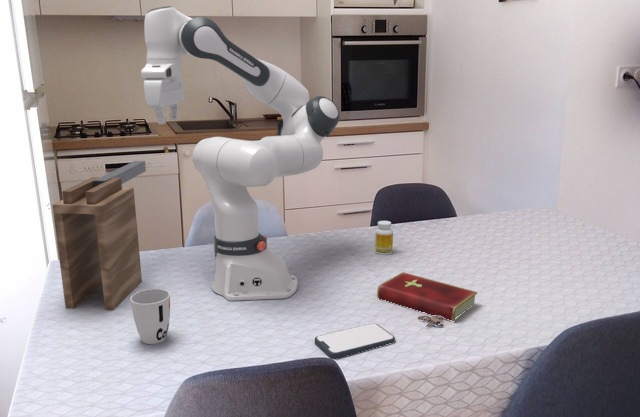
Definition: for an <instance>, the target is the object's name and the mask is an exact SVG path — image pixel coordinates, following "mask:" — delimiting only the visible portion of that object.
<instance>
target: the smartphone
mask: <svg viewBox="0 0 640 417" xmlns="http://www.w3.org/2000/svg"><path fill="white" fill-rule="evenodd" d="M394 341H395V342H396V337H395V335H393V334H391V332H389V331H387V330H386V329H385V328H383V327H382V326H381V325H380V324H378V323H368V324H363V325H359V326H355V327H352V328H351V327H350V328H347V329H343V330H338V331H334V332H329V333H325V334H321V335H317V336H315V338H314V344H315V346H316V347H318V348H319V349H320V350H321V351H322V352H323V353H324V354H325V355H326V356H327V357H329V358H330V359H333V358H334V359H333V360H336V358H338V359H341V358H340V357H342V358H345V357H344V356H346V357H348V356H347V355H349V356H352V355H351V354H353V355H356V354H355V353H357V354H359V353H358V352H360V353H363V352H362V351H364V352H366V351H365V350H368V351H370V350H369V349H371V350H373V349H372V348H375V349H377V348H376V347H378V348H380V347H379V346H382V347H384V346H383V345H386V344H389V343H393V342H394ZM395 342H394V343H395ZM394 343H393V344H394ZM389 345H390V344H389ZM386 346H387V345H386Z"/></svg>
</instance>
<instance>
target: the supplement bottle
mask: <svg viewBox="0 0 640 417" xmlns="http://www.w3.org/2000/svg"><path fill="white" fill-rule="evenodd" d="M374 232H375V234H374V253H376V254H378V255H380V256H387V255H391V254H392V253H393V242H394V237H393V236H394V230H393V229H392V222H391V221H388V220H379V221H377V228H376V229H375V231H374Z"/></svg>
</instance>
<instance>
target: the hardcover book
mask: <svg viewBox="0 0 640 417" xmlns="http://www.w3.org/2000/svg"><path fill="white" fill-rule="evenodd" d="M477 294H478V292H477V291H474V290H470V289H467V288H463V287H461V286H457V285H456V286H455V285H452V284H448V283H444V282H440V281H438V280H434V279H430V278H426V277H423V276H418V275H416V274H412V273H407V272H404V271H402V272H400V273H399V274H397V275H395V276H393V277H391V278H390V279H387V280H385V281H384V282H382V283H380V284H378V285H377V295H376V298H377V299H378V298H379V299H378V300H380V299H382V300H381V301H383V300H386V301H385V302H387V301H389V302H388V303H390V302H392V303H391V304H393V303H395V304H394V305H396V304H398V305H397V306H400V305H402V306H401V307H403V306H405V307H404V308H406V307H408V308H407V309H409V308H412V309H415V310H414V311H416V310H418V311H417V312H419V311H421V312H420V313H422V312H425V313H427V314H426V315H428V314H431V315H430V316H432V315H441V316H443V317H444V318H446V319H449V320H452V321H454V320H455V318H456V317H457V316H459V315H460V314H462V313H463V312H464V311H466V310H467V309H468V308H470V307H471V306H473V305H474V306H475V302H476V301H475V300H476V298H475V297H476V295H477ZM474 306H473V307H474ZM412 309H411V310H412ZM470 309H471V308H470ZM466 312H467V311H466ZM425 313H424V314H425ZM462 315H463V314H462ZM455 321H456V320H455Z"/></svg>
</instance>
